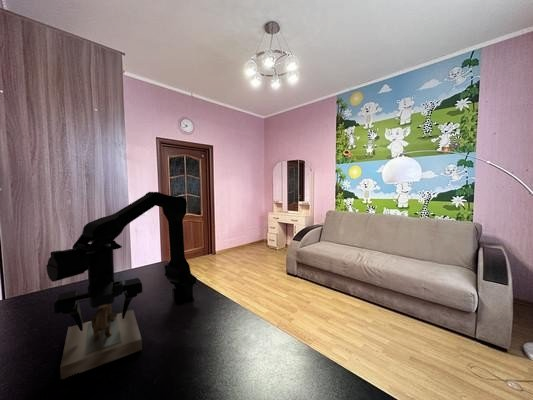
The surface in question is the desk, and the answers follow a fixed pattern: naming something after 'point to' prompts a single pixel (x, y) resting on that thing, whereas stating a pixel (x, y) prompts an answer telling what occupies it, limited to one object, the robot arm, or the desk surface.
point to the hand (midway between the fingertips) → (103, 323)
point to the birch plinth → (99, 345)
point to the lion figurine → (103, 320)
